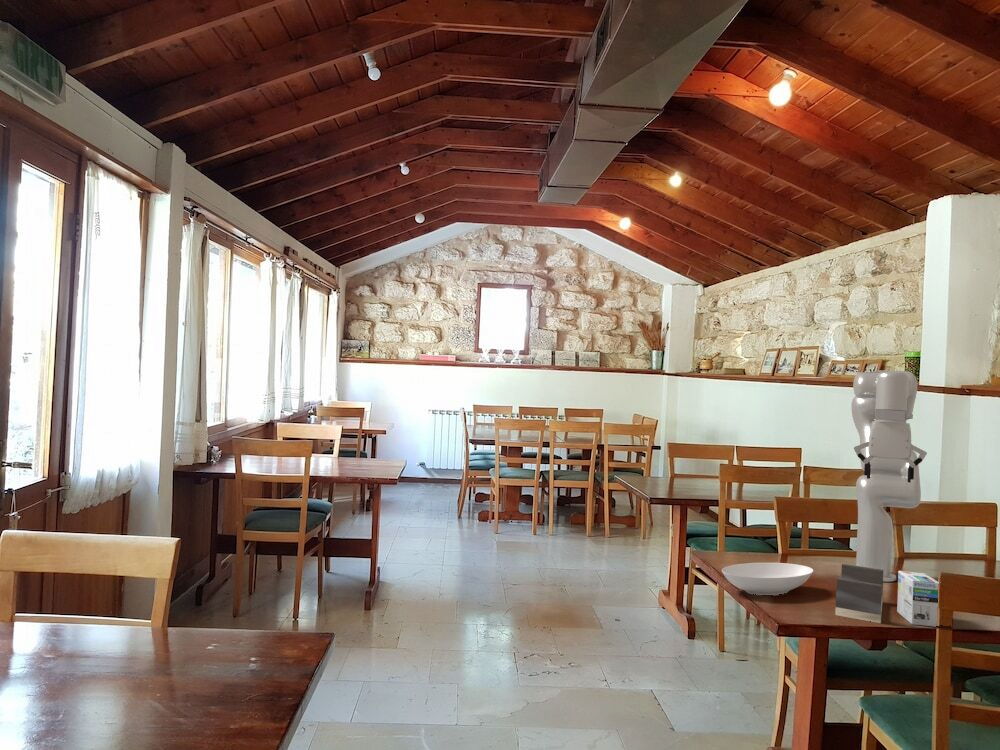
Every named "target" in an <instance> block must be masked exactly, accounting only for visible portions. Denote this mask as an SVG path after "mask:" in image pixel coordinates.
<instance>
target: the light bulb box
mask: <svg viewBox="0 0 1000 750" xmlns="http://www.w3.org/2000/svg"><path fill="white" fill-rule="evenodd" d="M897 574H898V575H897V604H896V605H897V607H896V608H897V609H896V612H897V613H898V614H899V615H900V616H901V617H903V618H904V619H905V620H906V621H908V622H909V623H910V624H911V625H915V626H916V625H917V626H925V627H933V628H937V627H936V624H937V607H938V584H939V582H940V581H938V580H936V579H934V578H933V577H931V576H929V575H928V574H927V573H924V572H914V571H913V572H912V571H905V570H898V572H897Z"/></svg>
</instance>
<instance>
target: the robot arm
mask: <svg viewBox="0 0 1000 750" xmlns="http://www.w3.org/2000/svg"><path fill="white" fill-rule="evenodd" d="M852 385H853V386H852V389H853V394H854V395H855V396H854V397H853V398H852V399H851V400H852V401H851V417H852V421H853V423H854V426H855V428H856V430H857V433H858V435H859V444H858V445H856V446H854V447H853V450H854V452H855V453H856V456H857V458H858V459H860V467H861V469H862V470H863V472H864V473H863V475H861V476H858V478H857V480H856V482H855V491H856V492H855V493H856V501H857V531H856V532H857V535H856V558H855V559H856V560H855V562H856V563H855V566H861V567H868V568H874V569H881V570H883V583H884V582H889V583H890V582H895V581H897V575H896V574H894V573H891V572H892V552H893V551H892V549H893V527H894V526H893V519H892V517H891V516H890V515H889V513H888V512H887V511H886V510H885V509H884V507H885V508H886V507H890V508H899V509H916V508H917V507H918V506H919V505H920V503H921V499H922V493H921V492H922V491H921V489H922V487H921V480H920V479H921V478H920V468H919V467H920V466H919V465H920V464H921V463H922V462H923V460H925V458H926V456H927V454H928V452H927V451H925V450H923V449H922V448H919V447H917V446H916V445H913V444H912V431H911V429H912V428H911V425H910V422H909V423H908V422H907V421H909V420H913V418H914V417H913V416H914V414H913V412H914V406H915V402H916V399H917V398H916V397H917V393H918V380H917V377H916V375H915V374H914V373H912V372H911V371H907V370H887V369H885V370H882V369H881V370H880V369H878V370H873V371H861V372H860V371H858V372H857V373H856V374H855V376H854V378H853V384H852ZM917 454H919V455H917Z"/></svg>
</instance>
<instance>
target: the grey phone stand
mask: <svg viewBox="0 0 1000 750" xmlns="http://www.w3.org/2000/svg"><path fill="white" fill-rule="evenodd" d="M840 573H841V575H840V577H837V578H836V586H835V587H836V590H835V611H834V613H835V614H834V615H835V616H837V617H843V618H850V619H853V620H854V619H855V620H860V621H866V622H870V621H871V623H876V624H882V613H883V593H884V591H883V590H884V582H883V570H881V569H874V568H868V567H861V566H856V565H855V564H854V565H853V564H848V563H841V571H840Z"/></svg>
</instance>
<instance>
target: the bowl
mask: <svg viewBox="0 0 1000 750" xmlns="http://www.w3.org/2000/svg"><path fill="white" fill-rule="evenodd" d="M721 572H722V575H724V577H725V578H726V580H727V581H728V582H729V583H730V584H732V585H733V586H734V587H736V588H738V589H740V590H742V591H744V592H746V593H747V594H749V595H753V594H754V596H761V595H773V596H780V595H779V594H782V595H785V594H787V593H789V592H790V591H792V590H795V589H796V588H798V587H800V586H802V585H803V584H805V583H806V582H807V581H808V579H809V578H810V577H811V576H812V574H813V573H814V569H813V568H812V567H810V566H807V565H803V564H796V563H786V562H784V563H783V562H749V563H737V564H732V565H729V566H728V565H727V566H724V567H723V568H721ZM784 593H785V594H784ZM755 594H756V595H755Z"/></svg>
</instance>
